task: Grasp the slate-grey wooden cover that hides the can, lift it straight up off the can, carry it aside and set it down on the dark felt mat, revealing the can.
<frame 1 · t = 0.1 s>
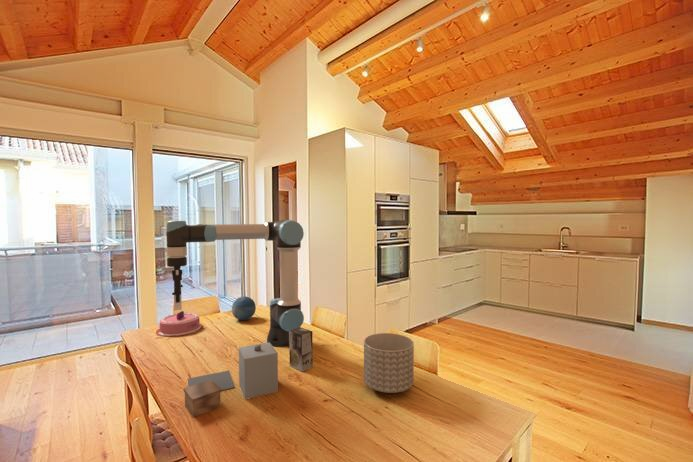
hand: (178, 306, 143), 28 cm above the table, fingers open, 13 cm apart
decorative ball: (243, 320, 216), on the table
planter: (388, 388, 129), on the table
can: (258, 388, 129), on the table
coffee box: (301, 367, 147), on the table
cake: (180, 330, 197), on the table
cover: (258, 387, 129), on the table
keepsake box: (202, 406, 116), on the table
mat: (210, 383, 132), on the table
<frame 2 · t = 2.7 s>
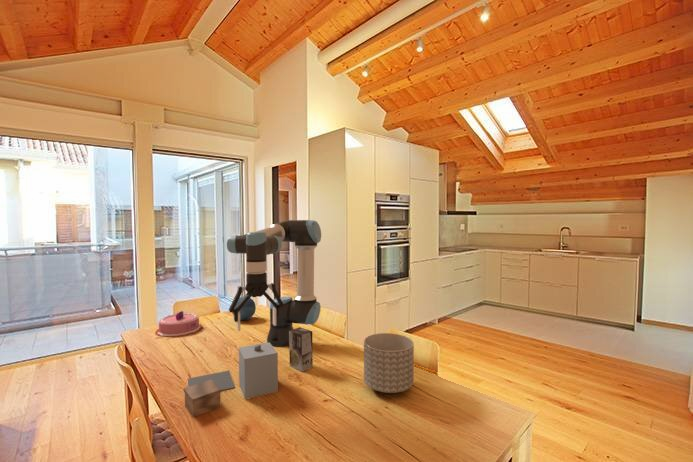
hand: (257, 327, 128), 24 cm above the table, fingers open, 13 cm apart
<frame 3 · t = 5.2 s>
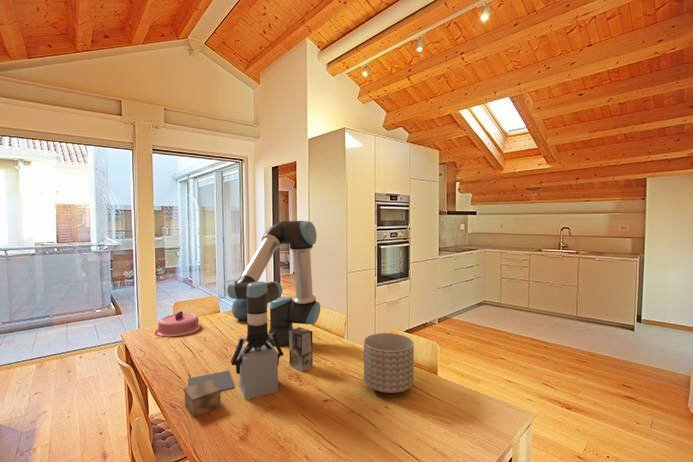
hand: (258, 377, 129), 4 cm above the table, fingers closed on cover, 12 cm apart
cover: (258, 387, 129), on the table, touching gripper
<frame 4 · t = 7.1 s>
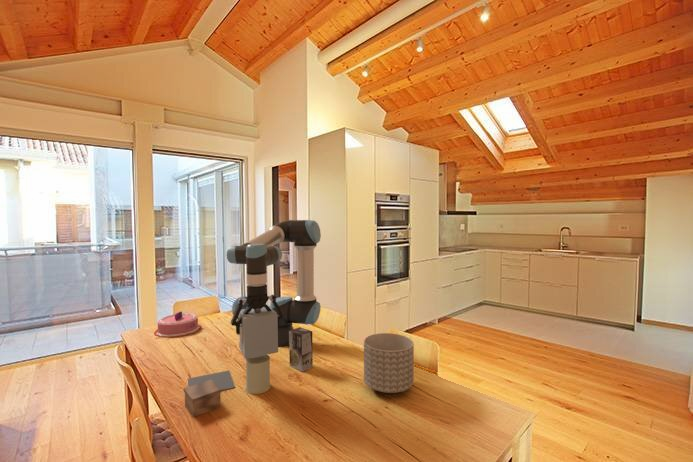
hand: (258, 339, 128), 19 cm above the table, fingers closed on cover, 12 cm apart
cover: (258, 349, 129), point 15 cm above the table, touching gripper
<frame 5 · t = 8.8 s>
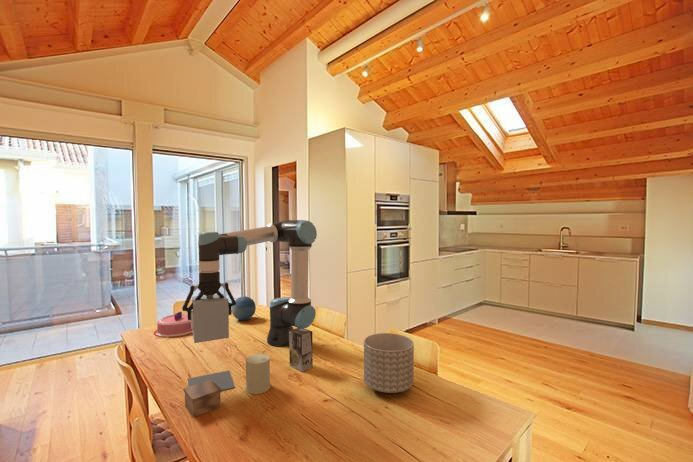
hand: (210, 325, 131), 23 cm above the table, fingers closed on cover, 12 cm apart
cover: (210, 335, 131), point 19 cm above the table, touching gripper
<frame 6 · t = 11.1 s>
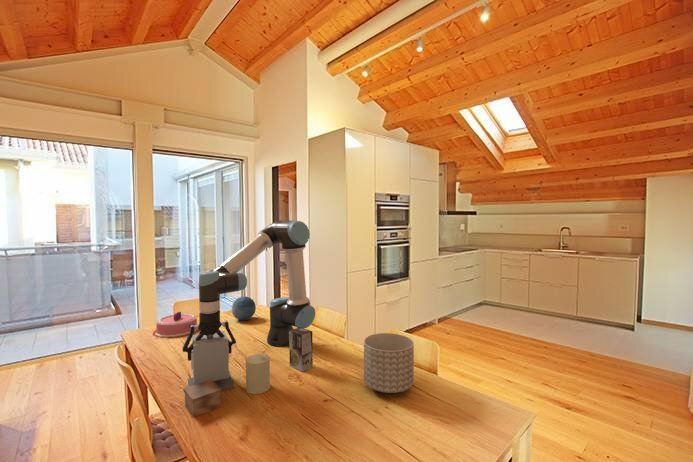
hand: (210, 364, 132), 8 cm above the table, fingers closed on cover, 12 cm apart
cover: (210, 374, 132), point 4 cm above the table, touching gripper
when the fingers open (6 cm above the table, at t = 12.6 s): cover drops 2 cm, resting on mat.
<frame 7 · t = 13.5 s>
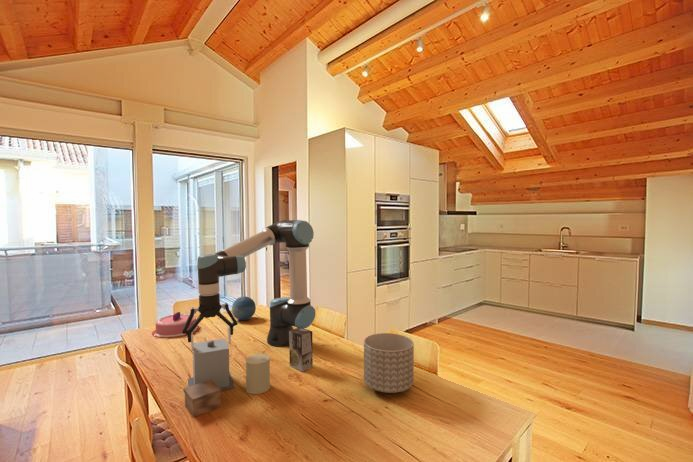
hand: (211, 346, 132), 15 cm above the table, fingers open, 13 cm apart
cover: (210, 382, 132), resting on mat
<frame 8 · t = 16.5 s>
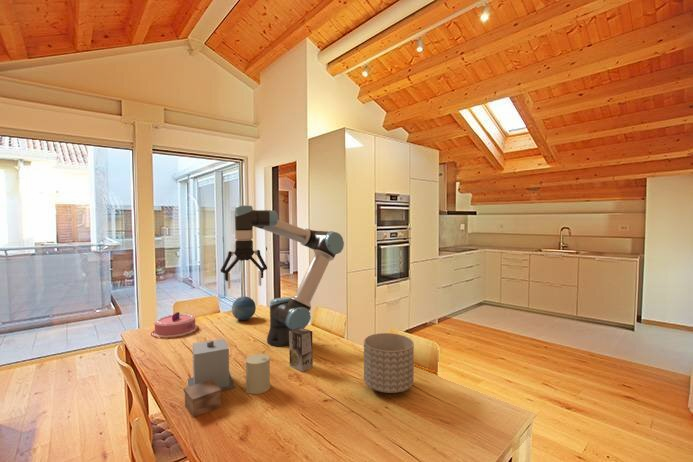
hand: (244, 286, 151), 35 cm above the table, fingers open, 13 cm apart
at the end: cover inside the target area (0.1 cm from its centre), resting on mat; cover tilted 0°; cover moved 19.9 cm from its start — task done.
